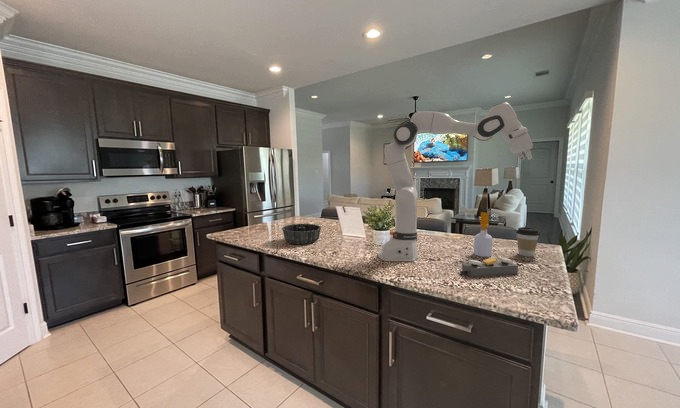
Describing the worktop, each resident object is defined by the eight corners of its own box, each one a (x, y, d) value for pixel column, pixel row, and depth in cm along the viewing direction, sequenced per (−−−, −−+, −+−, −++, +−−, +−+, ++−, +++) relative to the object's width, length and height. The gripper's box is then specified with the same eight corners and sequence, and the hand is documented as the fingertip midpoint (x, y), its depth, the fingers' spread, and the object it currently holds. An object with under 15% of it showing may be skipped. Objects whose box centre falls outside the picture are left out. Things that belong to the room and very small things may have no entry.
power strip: (465, 277, 127) (465, 268, 127) (456, 272, 134) (456, 263, 134) (517, 273, 132) (518, 264, 132) (506, 268, 139) (506, 259, 139)
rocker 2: (487, 265, 131) (487, 262, 131) (482, 262, 134) (482, 260, 134) (497, 262, 132) (496, 259, 132) (492, 260, 135) (491, 257, 135)
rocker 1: (472, 264, 130) (473, 261, 129) (468, 261, 133) (468, 259, 133) (482, 265, 131) (482, 263, 130) (477, 263, 134) (478, 260, 134)
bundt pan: (329, 239, 199) (328, 225, 197) (305, 248, 176) (304, 232, 175) (299, 235, 212) (299, 222, 211) (274, 243, 190) (273, 228, 189)
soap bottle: (473, 255, 160) (475, 212, 157) (474, 251, 168) (476, 210, 165) (491, 258, 156) (494, 213, 153) (491, 253, 164) (493, 211, 161)
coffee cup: (531, 252, 167) (533, 227, 165) (542, 258, 155) (545, 231, 154) (510, 251, 168) (512, 226, 166) (520, 257, 156) (522, 230, 155)
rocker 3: (503, 261, 132) (504, 259, 132) (498, 259, 136) (498, 257, 135) (512, 263, 133) (513, 260, 133) (507, 261, 137) (507, 258, 137)
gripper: (501, 139, 147) (513, 163, 146) (513, 134, 127) (527, 161, 127) (513, 133, 145) (526, 158, 144) (527, 127, 125) (542, 155, 125)
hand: (526, 159), depth 135 cm, fingers open, 8 cm apart
